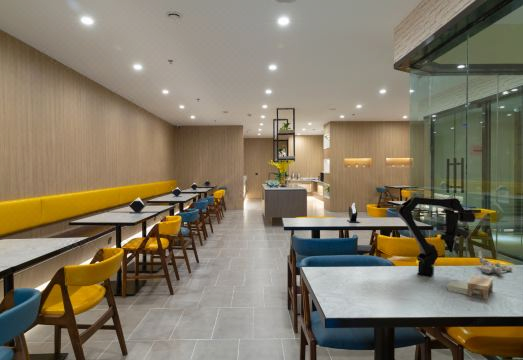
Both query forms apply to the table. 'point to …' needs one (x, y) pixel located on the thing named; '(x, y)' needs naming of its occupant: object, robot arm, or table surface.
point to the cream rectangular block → (462, 287)
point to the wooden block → (480, 286)
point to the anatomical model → (491, 265)
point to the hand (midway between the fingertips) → (451, 252)
